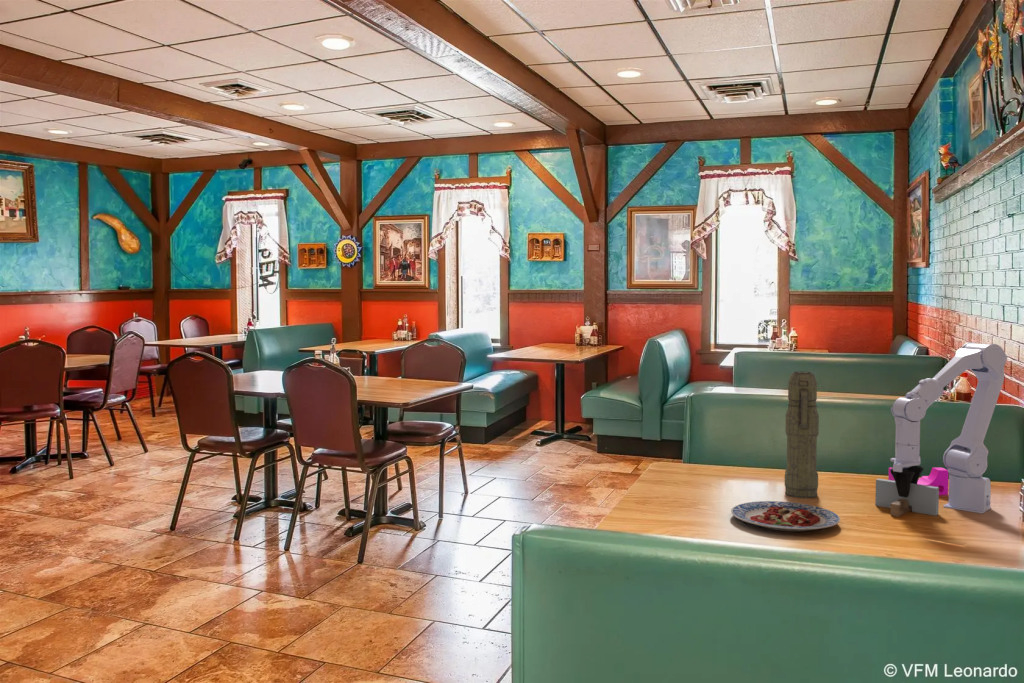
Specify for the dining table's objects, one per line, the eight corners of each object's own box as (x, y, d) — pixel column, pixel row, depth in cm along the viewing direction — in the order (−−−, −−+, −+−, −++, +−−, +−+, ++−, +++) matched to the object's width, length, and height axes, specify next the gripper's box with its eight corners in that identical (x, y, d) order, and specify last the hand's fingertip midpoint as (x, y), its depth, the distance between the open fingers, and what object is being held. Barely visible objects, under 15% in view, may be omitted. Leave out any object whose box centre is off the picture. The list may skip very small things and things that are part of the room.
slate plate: (938, 514, 206) (938, 487, 206) (935, 515, 205) (936, 488, 204) (878, 504, 217) (878, 478, 216) (875, 505, 215) (875, 479, 215)
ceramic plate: (755, 504, 218) (755, 493, 218) (853, 520, 202) (853, 508, 202) (713, 524, 198) (713, 512, 198) (819, 544, 182) (819, 531, 182)
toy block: (936, 491, 232) (937, 465, 232) (947, 496, 226) (948, 470, 225) (884, 491, 232) (884, 465, 232) (894, 496, 226) (894, 470, 226)
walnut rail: (913, 503, 217) (913, 492, 217) (921, 504, 216) (921, 493, 216) (890, 515, 205) (890, 503, 205) (898, 516, 204) (898, 505, 204)
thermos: (789, 500, 222) (791, 374, 220) (780, 490, 233) (781, 370, 232) (823, 500, 221) (824, 374, 219) (812, 490, 232) (813, 370, 231)
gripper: (901, 438, 218) (900, 487, 218) (881, 445, 207) (880, 497, 208) (929, 441, 213) (928, 492, 213) (910, 448, 203) (909, 501, 203)
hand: (906, 495), depth 210 cm, fingers open, 4 cm apart
